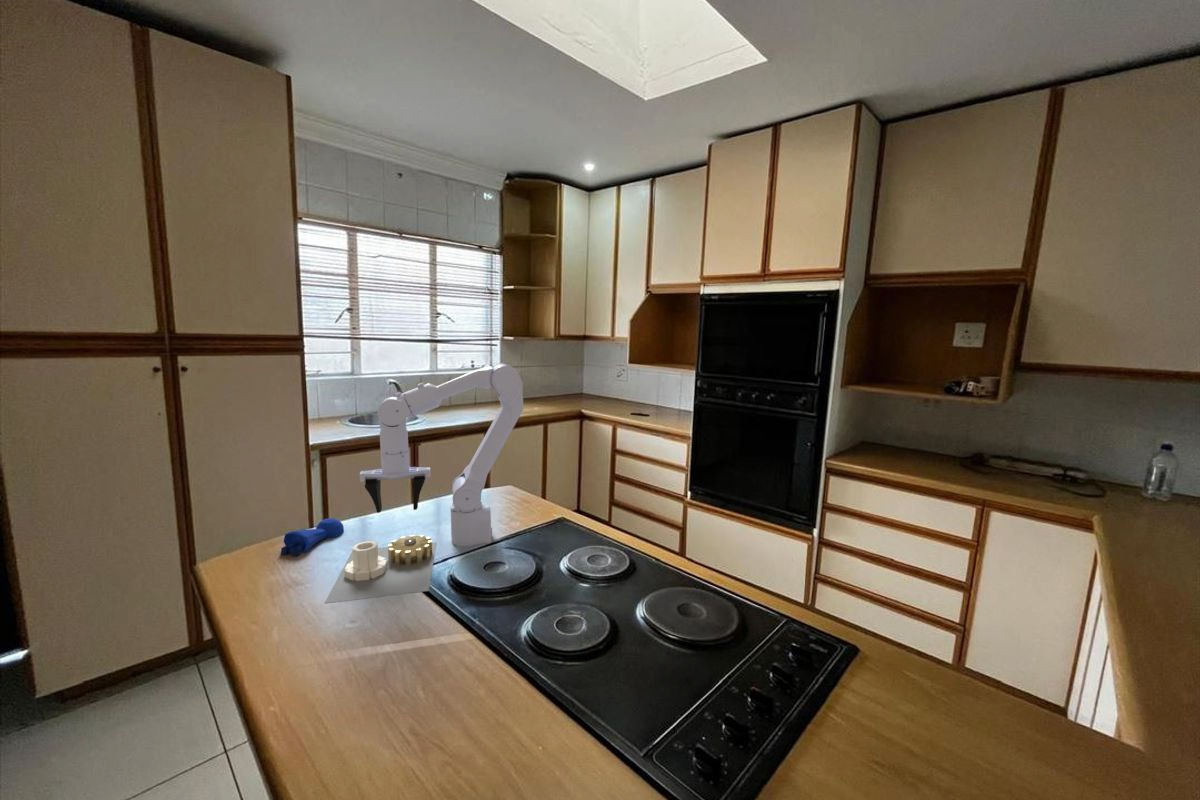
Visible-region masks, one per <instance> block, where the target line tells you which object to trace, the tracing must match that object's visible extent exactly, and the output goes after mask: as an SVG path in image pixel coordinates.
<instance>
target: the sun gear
mask: <svg viewBox="0 0 1200 800" xmlns="http://www.w3.org/2000/svg"><path fill="white" fill-rule="evenodd" d="M432 543H433V540H432V538H431V537H430V536H426V535H424V534H420V535H416V534H410V535H409V536H404V535H403V536H401V537H399V538H398V539H393V540H391V543H390V544H389V543H388V545H387V547H388V558H389V562H390V563H394V562H395V565H398V566H400V565H401V564H406V566H409V565H411V564H412V563H417V564H419V563H422V560H424V559H425V560H428V559H429V558H430V555H432Z"/></svg>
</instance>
